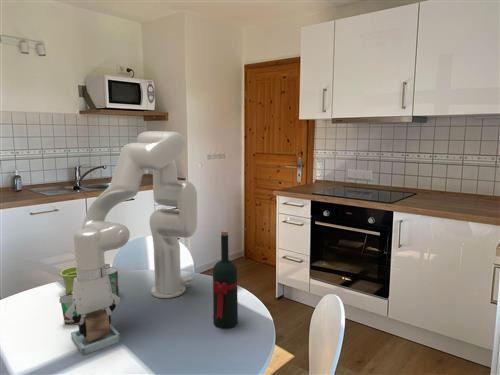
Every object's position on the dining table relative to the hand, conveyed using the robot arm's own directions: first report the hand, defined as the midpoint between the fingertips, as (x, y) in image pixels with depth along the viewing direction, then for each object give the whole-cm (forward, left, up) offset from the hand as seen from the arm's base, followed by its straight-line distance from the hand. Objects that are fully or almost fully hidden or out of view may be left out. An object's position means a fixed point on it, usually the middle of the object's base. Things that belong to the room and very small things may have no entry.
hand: (95, 330), depth 111 cm
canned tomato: (-12, -24, -3) cm, 27 cm away
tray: (0, 0, -3) cm, 3 cm away
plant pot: (-5, -37, -3) cm, 37 cm away
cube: (0, 0, -1) cm, 1 cm away
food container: (-1, -16, -3) cm, 16 cm away
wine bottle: (-34, +17, -3) cm, 38 cm away
